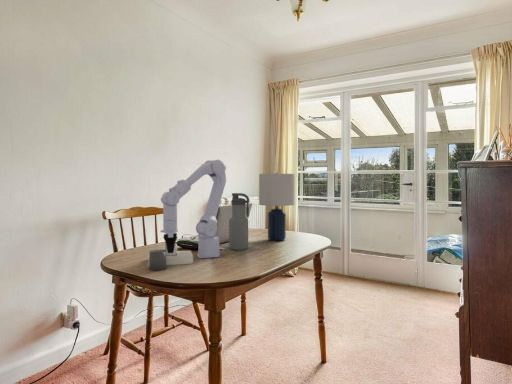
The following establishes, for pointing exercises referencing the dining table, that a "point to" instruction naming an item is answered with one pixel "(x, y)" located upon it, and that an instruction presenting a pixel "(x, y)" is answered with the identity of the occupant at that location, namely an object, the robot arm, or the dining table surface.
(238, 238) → the water bottle
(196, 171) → the robot arm
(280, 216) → the lamp
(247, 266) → the dining table surface
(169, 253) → the square peg
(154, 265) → the round peg
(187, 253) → the bore plate
